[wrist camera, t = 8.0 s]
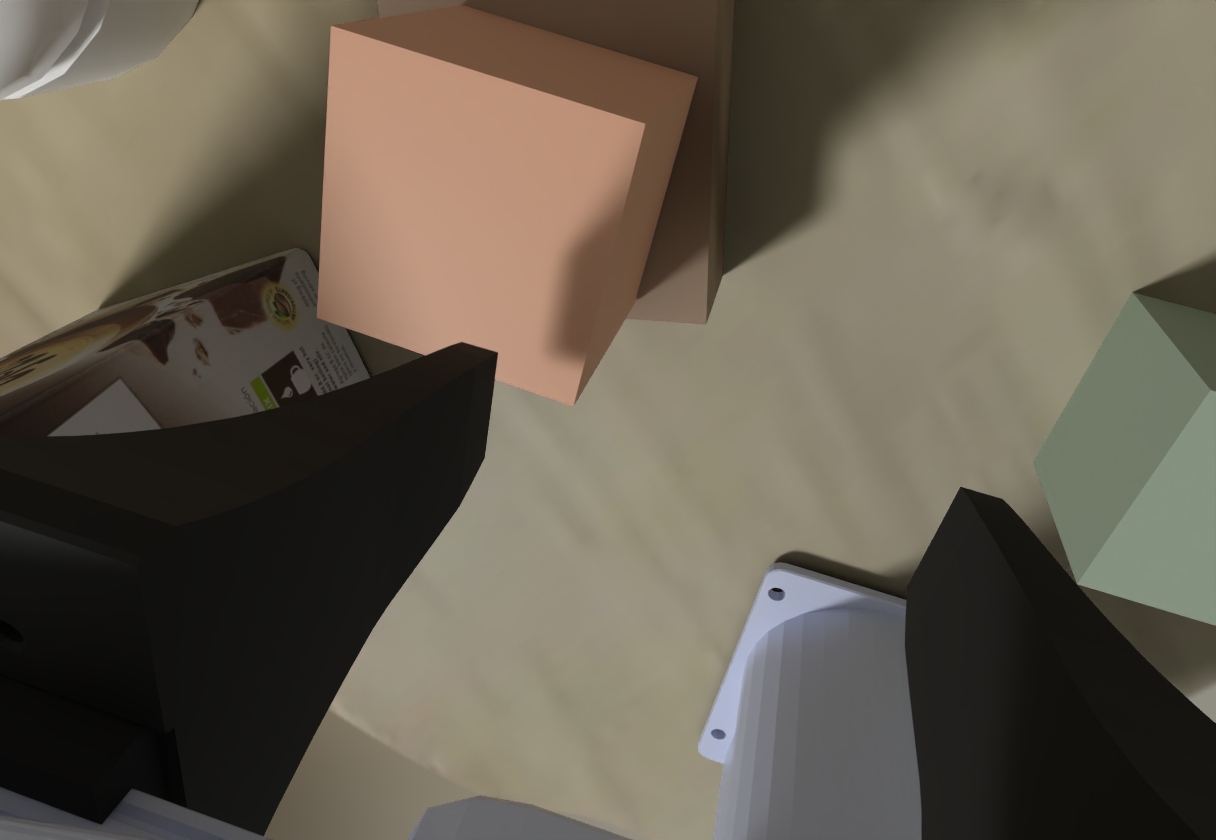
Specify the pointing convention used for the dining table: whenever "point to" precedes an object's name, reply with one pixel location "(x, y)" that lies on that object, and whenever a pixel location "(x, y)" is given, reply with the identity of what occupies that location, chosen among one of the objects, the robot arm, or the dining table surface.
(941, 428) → the dining table surface
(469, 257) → the terracotta block
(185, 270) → the dining table surface
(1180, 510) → the sage block
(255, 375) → the coffee box
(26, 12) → the honey pot
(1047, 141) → the dining table surface
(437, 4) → the walnut base
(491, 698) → the dining table surface
